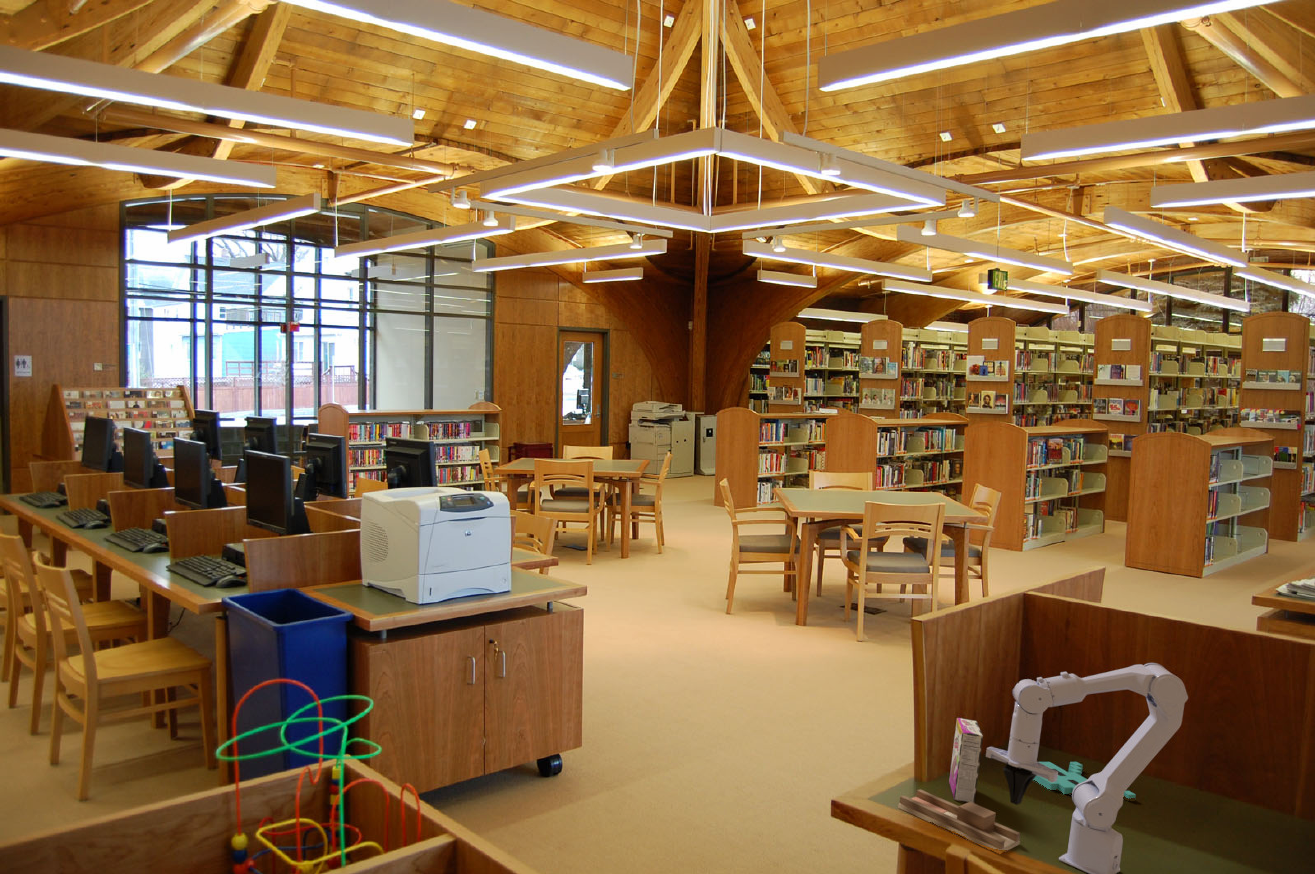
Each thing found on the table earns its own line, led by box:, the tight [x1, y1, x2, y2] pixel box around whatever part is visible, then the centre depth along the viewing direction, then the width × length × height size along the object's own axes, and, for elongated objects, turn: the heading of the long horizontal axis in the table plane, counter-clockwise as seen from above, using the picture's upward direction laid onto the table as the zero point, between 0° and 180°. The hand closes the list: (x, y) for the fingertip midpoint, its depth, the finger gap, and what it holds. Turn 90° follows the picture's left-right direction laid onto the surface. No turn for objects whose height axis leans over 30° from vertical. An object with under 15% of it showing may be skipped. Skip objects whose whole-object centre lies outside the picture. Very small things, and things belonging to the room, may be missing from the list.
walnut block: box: [957, 802, 997, 833], centre depth 198 cm, size 6×5×4 cm
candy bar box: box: [948, 717, 984, 804], centre depth 219 cm, size 11×5×16 cm, turn 168°
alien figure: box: [1032, 761, 1137, 799], centre depth 235 cm, size 20×2×20 cm
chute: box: [898, 789, 1021, 851], centre depth 201 cm, size 24×9×2 cm, turn 43°
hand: (1015, 802), depth 191 cm, fingers closed
